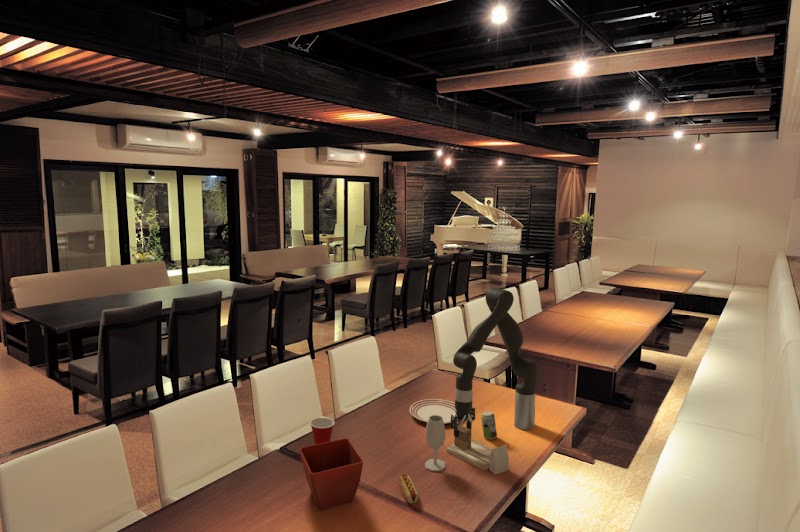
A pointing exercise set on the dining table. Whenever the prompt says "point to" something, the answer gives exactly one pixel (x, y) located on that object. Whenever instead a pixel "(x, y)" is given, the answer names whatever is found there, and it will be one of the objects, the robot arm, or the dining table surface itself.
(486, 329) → the robot arm
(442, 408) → the dinner plate
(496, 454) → the tea bag
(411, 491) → the food
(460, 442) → the block
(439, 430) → the wineglass
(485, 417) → the beverage can
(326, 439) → the plastic cup
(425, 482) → the dining table surface
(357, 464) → the plant pot
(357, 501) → the dining table surface
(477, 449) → the board
